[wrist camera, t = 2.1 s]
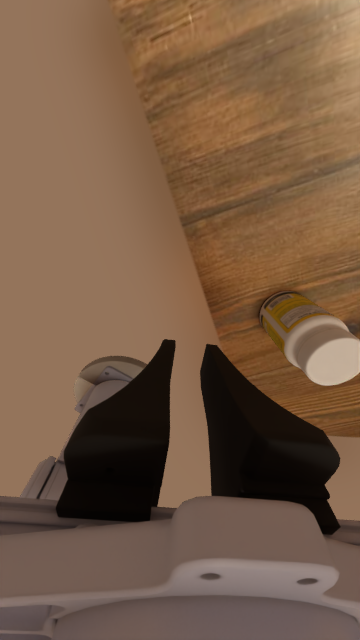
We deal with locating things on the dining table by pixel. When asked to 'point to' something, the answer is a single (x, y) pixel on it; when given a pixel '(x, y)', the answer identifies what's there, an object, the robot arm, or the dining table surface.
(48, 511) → the robot arm
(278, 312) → the supplement bottle
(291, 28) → the dining table surface
